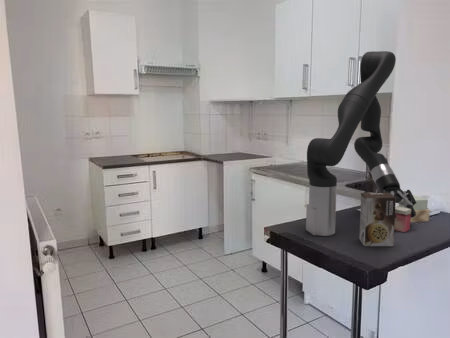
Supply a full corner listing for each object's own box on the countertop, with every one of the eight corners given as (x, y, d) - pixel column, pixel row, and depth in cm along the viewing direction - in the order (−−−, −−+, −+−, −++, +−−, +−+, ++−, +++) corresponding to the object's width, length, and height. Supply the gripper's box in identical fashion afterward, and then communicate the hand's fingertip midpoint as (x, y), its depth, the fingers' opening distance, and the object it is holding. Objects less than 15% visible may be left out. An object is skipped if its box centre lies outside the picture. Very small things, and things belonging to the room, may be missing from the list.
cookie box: (386, 239, 118) (389, 192, 115) (393, 247, 112) (397, 197, 109) (358, 239, 119) (360, 192, 116) (364, 246, 113) (366, 197, 110)
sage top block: (411, 211, 135) (412, 200, 134) (398, 206, 142) (399, 196, 141) (426, 209, 136) (427, 199, 136) (413, 204, 143) (414, 195, 142)
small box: (390, 229, 128) (391, 208, 127) (396, 226, 131) (397, 205, 129) (404, 232, 124) (406, 211, 123) (410, 230, 127) (411, 208, 125)
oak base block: (410, 223, 135) (411, 211, 134) (396, 216, 143) (397, 206, 142) (428, 221, 136) (429, 210, 136) (413, 215, 144) (414, 204, 143)
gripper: (372, 174, 130) (391, 213, 121) (406, 172, 133) (428, 210, 123) (363, 185, 136) (380, 224, 127) (396, 183, 139) (415, 220, 129)
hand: (404, 217), depth 125 cm, fingers open, 7 cm apart
